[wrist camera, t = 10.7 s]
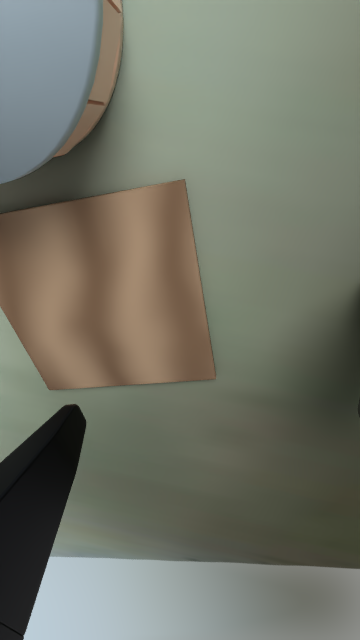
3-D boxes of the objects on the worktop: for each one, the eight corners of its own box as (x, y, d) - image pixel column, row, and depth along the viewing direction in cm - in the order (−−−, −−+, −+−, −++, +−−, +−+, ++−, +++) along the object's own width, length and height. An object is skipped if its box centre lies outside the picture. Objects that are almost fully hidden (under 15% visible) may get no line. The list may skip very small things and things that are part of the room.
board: (184, 179, 18) (184, 180, 18) (215, 375, 26) (216, 379, 26) (-43, 221, 21) (-48, 223, 20) (51, 386, 29) (49, 390, 29)
